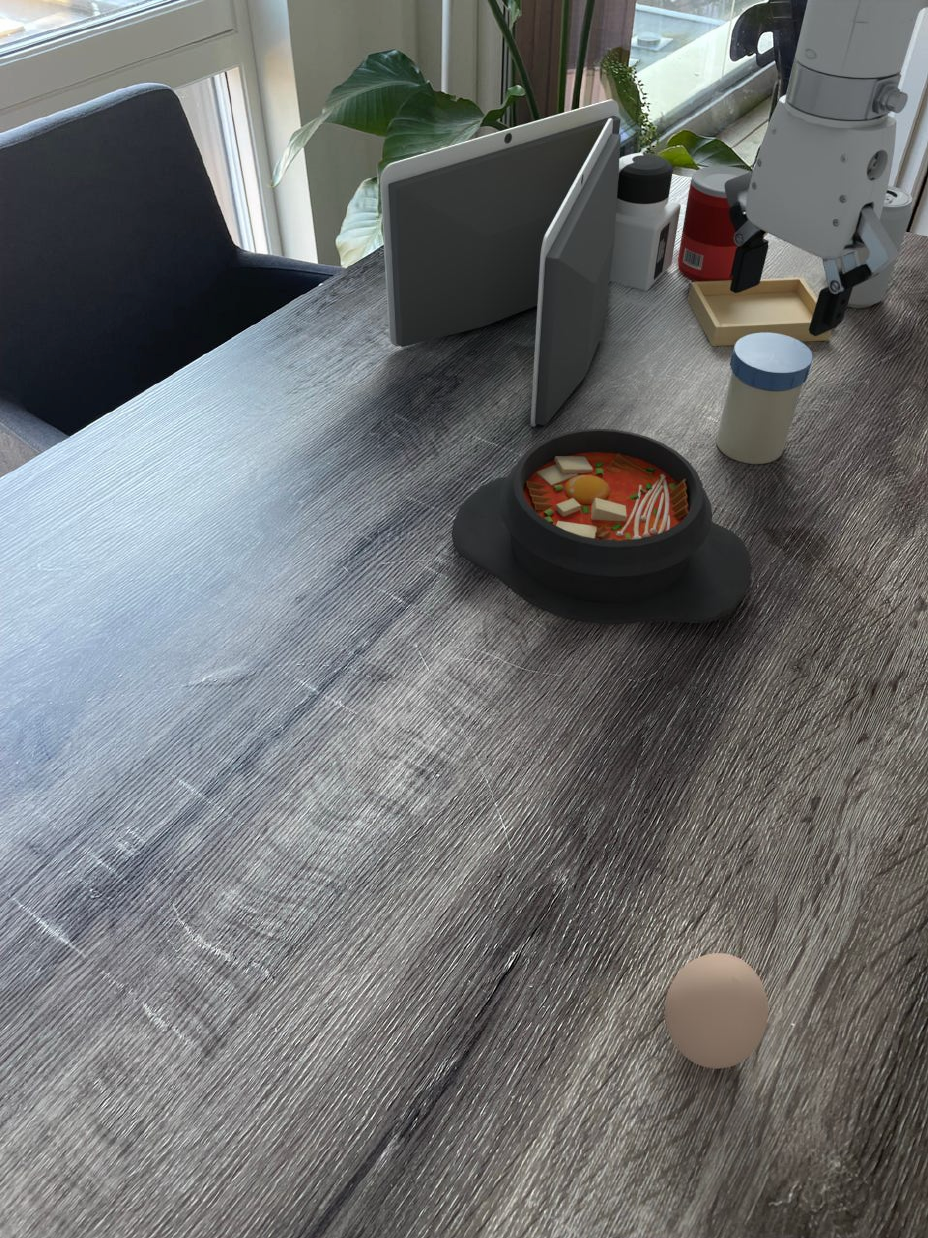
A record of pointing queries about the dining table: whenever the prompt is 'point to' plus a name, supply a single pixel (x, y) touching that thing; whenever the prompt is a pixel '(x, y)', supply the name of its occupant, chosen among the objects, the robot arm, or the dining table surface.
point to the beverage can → (895, 225)
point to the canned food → (708, 227)
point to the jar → (755, 422)
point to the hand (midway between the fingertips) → (782, 307)
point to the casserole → (605, 533)
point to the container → (643, 221)
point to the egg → (716, 1010)
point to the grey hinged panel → (509, 240)
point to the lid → (771, 361)
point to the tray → (754, 310)
